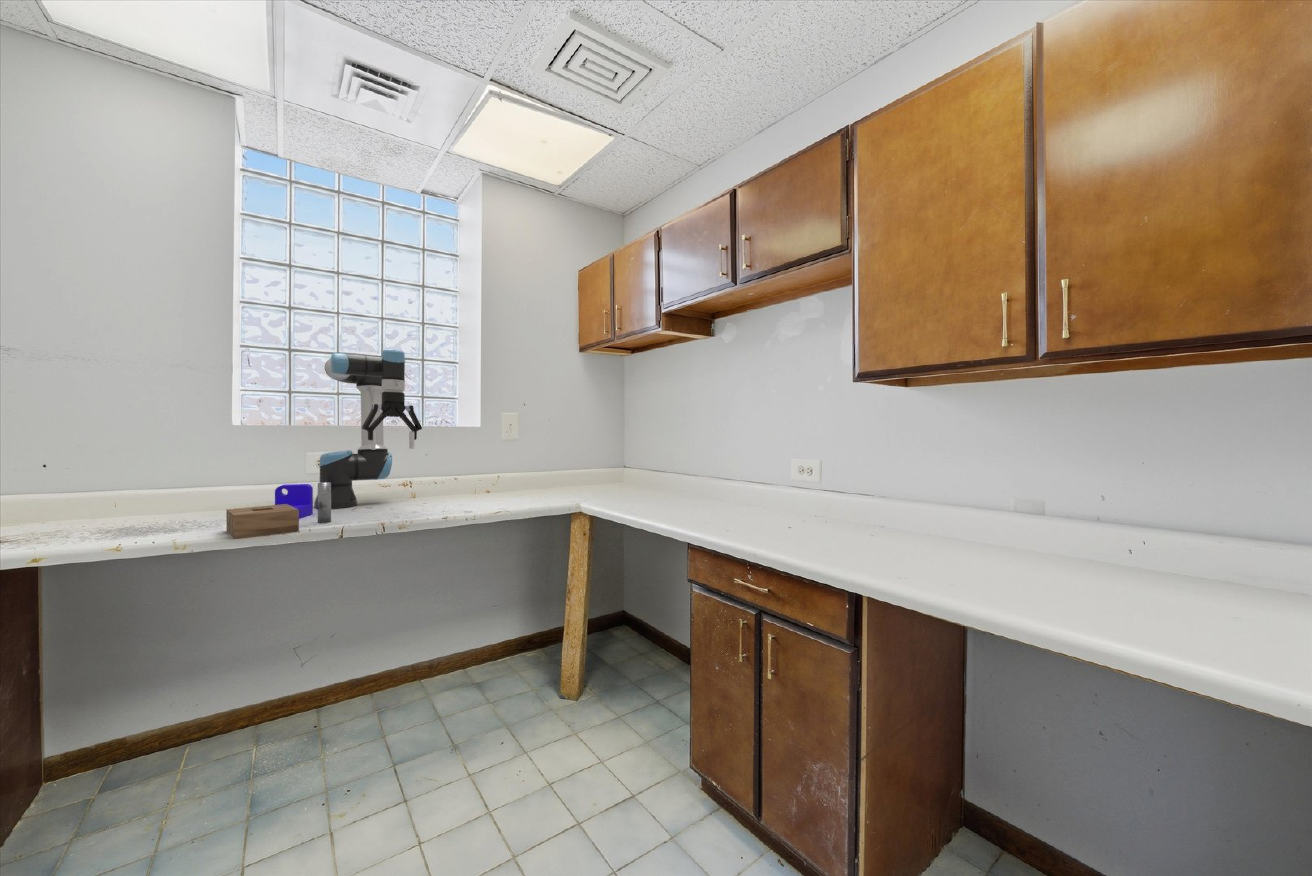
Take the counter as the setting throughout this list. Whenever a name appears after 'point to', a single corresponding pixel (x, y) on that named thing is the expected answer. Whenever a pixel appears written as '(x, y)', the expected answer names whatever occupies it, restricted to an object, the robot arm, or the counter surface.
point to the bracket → (296, 498)
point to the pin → (324, 502)
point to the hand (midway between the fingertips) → (392, 449)
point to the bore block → (262, 520)
